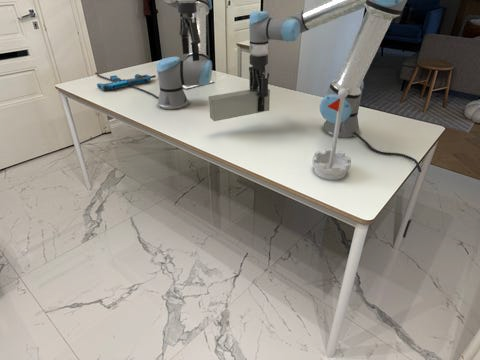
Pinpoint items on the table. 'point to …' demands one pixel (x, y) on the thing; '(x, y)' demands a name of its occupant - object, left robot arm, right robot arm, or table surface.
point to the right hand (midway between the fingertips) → (258, 109)
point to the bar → (236, 104)
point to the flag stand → (333, 149)
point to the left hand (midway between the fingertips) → (190, 57)
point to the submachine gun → (124, 82)
